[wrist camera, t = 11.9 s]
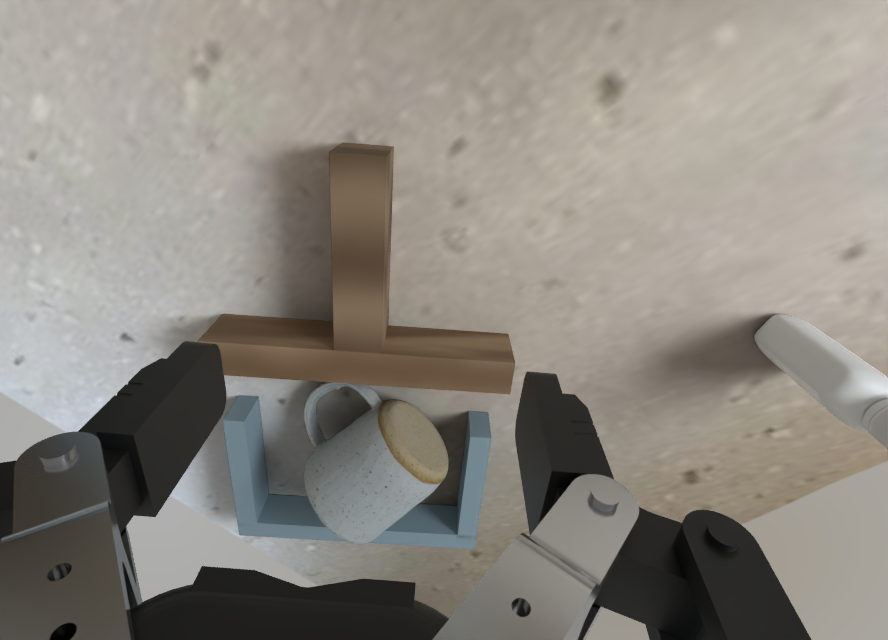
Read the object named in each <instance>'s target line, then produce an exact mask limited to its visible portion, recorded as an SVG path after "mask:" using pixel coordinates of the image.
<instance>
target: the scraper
mask: <svg viewBox="0 0 888 640" xmlns="http://www.w3.org/2000/svg"><path fill="white" fill-rule="evenodd" d="M393 154H394V147H390V146H378V145H366V144H354V143H342V144H341V145H339V146H337V147H336V148H334V149H333V150H331V151H330V152H329V163H330V205H331V246H332V287H333V322H332V321H318V320H304V319H290V318H276V317H262V316H248V315H234V314H223V315H222V316H221V317H220V318H219V319H218V320H217V321H216V322H215V323H214V324H213V325H212V326H211V327H210V328H209V329H208V331H207V332H206V333H205V334H204V335H203V336H202V337H201V338H200V339H199V340H198V342H201V343H212V344H217V345H218V347H219V349H220V353H221V360H222V367H223V374H224V375H231V376H246V377H261V378H276V379H291V380H306V381H320V382H335V383H350V384H365V385H380V386H395V387H410V388H425V389H440V390H455V391H470V392H485V393H499V394H510V391H511V385H512V379H513V373H514V367H515V360H514V356H513V352H512V348H511V344H510V339H509V335H508V334H501V333H487V332H473V331H459V330H445V329H431V328H417V327H403V326H389V325H388V318H389V285H390V252H391V220H392V187H393Z"/></svg>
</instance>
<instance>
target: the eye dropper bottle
mask: <svg viewBox="0 0 888 640" xmlns="http://www.w3.org/2000/svg"><path fill="white" fill-rule="evenodd" d="M754 339H755V342H756V344H757V345H758V347H759V348H760V350H761V351H762V352H763V353H764V354H765V355H766V356H767V357H768V358H769V359H770V360H771V361H772V362H773V363H775V364H776V365H777V366H778V367H779V368H780V369H781V370H783V371H784V372H785V373H786V374H787V375H788V376H789V377H790V378H792V379H793V380H794V381H795V382H796V383H797V384H798V385H800V386H801V387H802V388H803V389H804V390H805V391H806V392H808V393H809V394H810V395H811V396H812V397H813V398H814V399H815V400H817V401H818V402H819V403H820V404H821V405H822V406H823V407H825V408H826V409H827V410H828V411H829V412H830V413H832V414H833V415H834V416H835V417H836V418H838V419H839V420H841V421H842V422H844V423H845V424H847V425H849V426H851V427H853V428H856V429H858V430H862V431H866V432H869V433H870V434H871V435H872V436H873V437H874V438H876V439H877V440H878V441H879V442H880V443H882V444H883V445H884V446H885V447H886V448H887V449H888V377H887V376H885V375H884V374H882V373H881V372H880V371H878V370H877V369H875V368H874V367H872V366H871V365H869V364H868V363H867V362H865V361H864V360H862V359H861V358H859V357H858V356H856V355H855V354H853V353H852V352H850V351H849V350H848V349H846V348H845V347H843V346H842V345H840V344H839V343H837V342H836V341H834V340H833V339H832V338H830V337H829V336H827V335H826V334H824V333H823V332H821V331H820V330H818V329H817V328H815V327H814V326H813V325H811V324H809V323H808V322H806V321H804V320H802V319H799V318H796V317H793V316H789V315H782V314H778V315H774V316H772V317H771V318H770V319H769V320H768V321H767V322H766V323H765V324H764V325H763V326H762V327H761V328H760V329H759V330H758V331H757V332H756V333H755V335H754Z"/></svg>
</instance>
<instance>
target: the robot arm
mask: <svg viewBox="0 0 888 640" xmlns="http://www.w3.org/2000/svg"><path fill="white" fill-rule="evenodd" d="M225 404H226V387H225V381H224V374H223V367H222V360H221V353H220V349H219V347H218V345H217V344H212V343H201V342H189V341H185V342H183V343H182V344H181V345H180V346H179V347H178V348H177V349H176V350H175V351H174V352H173V353H172V354H171V355H170V356H169V357H168V358H167V359H162V358H161V359H159V360H157V361H156V362H154V363H152V364H150V365H148V366H146V367H144V368H143V369H141V370H140V371H139V372H138V373H137V374H136V375H135V376H134V377H133V378H132V379H131V380H130V381H129V382H128V385H125V386H124V387H123V388H122V389H121V390H120V391H119V392H118V393H117V396H114V397H113V398H112V399H111V400H110V401H109V402H108V403H107V404H106V405H105V406H104V407H102V408H101V409H100V410H99V411H98V412H97V413H96V414H95V415H94V416H93V417H92V418H91V419H90V420H89V421H88V422H87V423H86V424H85V425H84V426H83V427H82V428H81V429H80V430H79V431H78V432H68V433H63V434H59V435H55V436H52V437H49V438H47V439H44V440H42V441H40V442H38V443H36V444H34V445H33V446H31V447H30V448H29V449H27V450H26V451H25V452H24V453H23V454H21V456H20V457H19V458H18V459H17V461H11V462H4V463H0V640H585V639H586V637H587V635H588V633H589V632H590V630H591V628H592V626H593V624H594V622H595V620H596V618H597V617H598V615H599V613H600V611H601V609H602V607H604V608H607V609H609V610H611V611H614V612H616V613H619V614H621V615H624V616H626V617H629V618H631V619H634V620H636V621H639V622H642V623H644V624H646V628H647V631H648V635H649V639H650V640H811V638H810V636H809V634H808V633H807V631H806V629H805V627H804V625H803V624H802V622H801V620H800V618H799V616H798V615H797V613H796V611H795V609H794V607H793V606H792V604H791V602H790V600H789V598H788V597H787V595H786V593H785V591H784V589H783V588H782V586H781V584H780V582H779V580H778V579H777V577H776V575H775V573H774V571H773V570H772V568H771V566H770V564H769V562H768V561H767V559H766V557H765V555H764V553H763V551H762V550H761V548H760V546H759V544H758V543H757V541H756V540H755V538H754V537H753V536H752V535H751V533H750V532H748V530H746V529H745V528H744V527H743V526H742V525H740V524H739V523H738V522H736V521H735V520H733V519H731V518H729V517H727V516H725V515H723V514H720V513H717V512H714V511H709V510H696V511H693V512H690V513H689V514H687V516H686V517H685V518H684V520H683V523H680V522H677V521H674V520H671V519H668V518H665V517H662V516H659V515H656V514H653V513H651V512H648V511H646V510H644V509H642V508H640V507H639V505H638V503H637V500H636V498H635V497H634V495H633V494H632V493H631V492H630V491H629V490H628V489H627V488H626V487H625V486H624V485H622V484H621V483H619V482H618V481H616V480H614V478H613V475H612V472H611V470H610V467H609V464H608V462H607V459H606V456H605V453H604V451H603V448H602V445H601V443H600V440H599V437H597V432H596V429H595V427H594V425H593V421H592V419H591V416H590V413H589V411H588V408H587V407H586V406H585V405H584V404H583V403H582V402H581V401H580V400H579V399H578V397H577V396H576V395H572V394H562V391H561V388H560V384H559V381H558V378H557V375H556V374H550V373H539V372H527V373H526V375H525V378H524V383H523V388H522V393H521V398H520V403H519V409H518V414H517V419H516V429H515V438H516V447H517V453H518V460H519V466H520V473H521V479H522V486H523V492H524V499H525V506H526V512H527V519H528V525H529V532H530V536H529V537H528V536H527V535H525V534H524V533H522V534H520V535H518V536H517V537H516V538H515V539H514V541H513V542H512V543H511V544H510V545H509V547H508V548H507V549H506V550H505V551H504V553H503V554H502V555H501V556H500V558H499V559H498V560H497V561H496V562H495V564H494V565H493V566H492V567H491V569H490V570H489V571H488V572H487V573H486V575H485V576H484V577H483V578H482V580H481V581H480V582H479V583H478V584H477V586H476V587H475V588H474V589H473V591H472V592H471V593H470V594H469V595H468V597H467V598H466V599H465V600H464V602H463V603H462V604H461V605H460V606H459V608H458V609H457V610H456V611H455V613H454V614H453V615H452V616H451V617H450V619H448V618H447V617H446V616H444V615H443V614H441V613H440V612H438V611H437V610H435V609H433V608H431V607H429V606H428V605H426V604H423V603H421V602H418V601H415V600H414V595H415V583H412V582H399V581H386V580H373V579H359V580H353V581H347V582H341V583H335V584H328V585H322V586H316V587H310V588H306V587H300V586H297V585H295V584H292V583H289V582H286V581H283V580H281V579H278V578H275V577H272V576H269V575H266V574H264V573H261V572H258V571H255V570H244V569H231V568H218V567H217V568H216V567H205V566H204V567H203V566H202V567H201V569H200V572H199V573H198V576H197V577H196V579H195V581H194V583H193V585H187V586H184V587H180V588H176V589H173V590H170V591H167V592H165V593H162V594H159V595H157V596H155V597H153V598H151V599H148V600H146V601H144V602H142V598H141V594H140V588H139V583H138V578H137V573H136V568H135V563H134V558H133V553H132V548H131V544H130V538H129V534H128V531H127V527H126V526H127V524H128V523H129V521H130V520H131V518H132V517H133V516H134V515H137V516H149V517H156V515H157V514H158V512H159V510H160V509H161V508H162V506H163V505H164V503H165V501H166V500H167V498H168V497H169V495H170V494H171V492H172V491H173V489H174V488H175V486H176V485H177V483H178V482H179V480H180V479H181V477H182V476H183V474H184V473H185V471H186V470H187V468H188V466H189V465H190V463H191V462H192V460H193V459H194V457H195V456H196V454H197V453H198V451H199V450H200V448H201V447H202V445H203V444H204V442H205V441H206V439H207V438H208V436H209V435H210V433H211V431H212V430H213V428H214V427H215V425H216V424H217V422H218V421H219V419H220V418H221V416H222V414H223V412H224V408H225Z"/></svg>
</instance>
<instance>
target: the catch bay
mask: <svg viewBox="0 0 888 640" xmlns="http://www.w3.org/2000/svg"><path fill="white" fill-rule="evenodd" d="M223 426H224V433H225V440H226V447H227V453H228V460H229V467H230V474H231V481H232V488H233V494H234V501H235V508H236V515H237V522H238V529H239V535H245V536H262V537H279V538H296V539H312V540H329V541H345V540H343V539H341V538H339V537H337V536H336V535H335V534H334V533H333V532H332V531H330V530H329V529H328V528H327V527H326V526H325V525H324V524H323V523H322V522H321V520H320V519H319V517H318V516H317V514H316V513H315V511H314V509H313V507H312V505H311V503H310V501H309V499H308V497H304V496H287V495H271V494H269V492H268V482H267V472H266V463H265V453H264V443H263V434H262V424H261V414H260V405H259V397H252V396H238V397H237V399H236V401H235V402H234V404H233V405H232V407H231V408H230V410H229V411H228V413H227V414H226V416H225V417H224V419H223ZM490 444H491V431H490V423H489V415H488V413H487V412H472V411H469V413H468V421H467V429H466V437H465V445H464V453H463V462H462V470H461V478H460V486H459V494H458V502H457V506H448V505H432V504H417V505H416V506H415V507H413V508H412V509H411V510H410V511H409V512H407V513H406V514H405V515H404V516H403V517H401V518H400V519H399V520H398V521H396V522H395V523H394V524H392V525H391V526H390V527H389V528H387V529H386V530H385V531H384V532H382V533H381V534H380V535H379V536H378V537H376V538H375V539H374V540H372V541H370V542H368V543H379V544H396V545H412V546H429V547H446V548H463V549H474V547H475V541H476V534H477V528H478V521H479V515H480V508H481V502H482V495H483V489H484V482H485V476H486V469H487V463H488V457H489V450H490ZM346 542H347V541H346Z"/></svg>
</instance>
